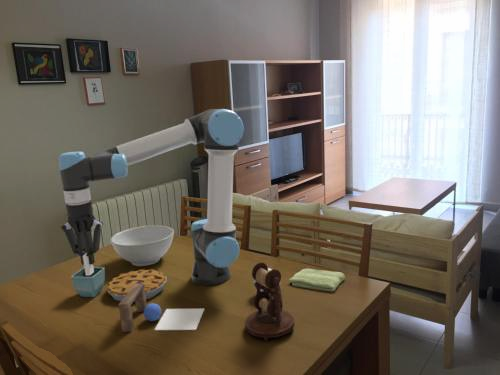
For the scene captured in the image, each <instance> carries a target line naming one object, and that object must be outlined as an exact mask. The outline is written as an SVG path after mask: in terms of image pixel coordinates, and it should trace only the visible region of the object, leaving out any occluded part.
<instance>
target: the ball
mask: <svg viewBox="0 0 500 375" xmlns="http://www.w3.org/2000/svg"><path fill="white" fill-rule="evenodd" d="M161 315H162V309H161V306H160V305H159V304H157V303H153V302H152V303H149V304H147V306H146V308H145V309H144V312H143V316H144V318H145V319H146V320H147V321H149V322H156V321H157V320H160V318H161V317H162V316H161Z"/></svg>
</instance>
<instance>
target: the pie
mask: <svg viewBox="0 0 500 375" xmlns="http://www.w3.org/2000/svg"><path fill="white" fill-rule="evenodd" d="M167 278H168V276H167V275H166V274H165V272H162V270H160V269H157V270H155V269H154V268H150V269H142V268H141V269H138V270H136V271H135V270H131V271H128V272H126V273H120V274H119V275H118V276H117V277H113V278H112V279H111V281H109V282H108V286H107V288H106V291H107V293H108V294H109V295H110V296H112V298H113V299H114V300H115V301H119V302H121V301H122V300H123V298H124V297H125V296H126V295H127V294H128V292H129V291H130V290H131V289H132V287H133V286H134V285H135V284H144V287H145V295H146V300H148V299H151V298H153V297H155V296H157V295H158V294H160V293H161V291H163V289H164V286H165V284H166V283H167ZM133 302H135V300H134V301H133Z"/></svg>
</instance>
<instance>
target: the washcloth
mask: <svg viewBox="0 0 500 375" xmlns="http://www.w3.org/2000/svg"><path fill="white" fill-rule="evenodd" d="M345 279H346V276H345V274H344V273H343V272H340V271H329V270H320V269H314V268H303V269H301V270H300V271H299V272H296V273H294V275H293V276H292V277H290V278H289V280H288V282H289V283H292V284H291V286H293V287H300V288H305V289H312V290H318V291H325V292H331V293H332V292H335V291H336V289H337V288H338V287H339V285H340V284H342V282H343V281H344V280H345Z"/></svg>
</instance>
